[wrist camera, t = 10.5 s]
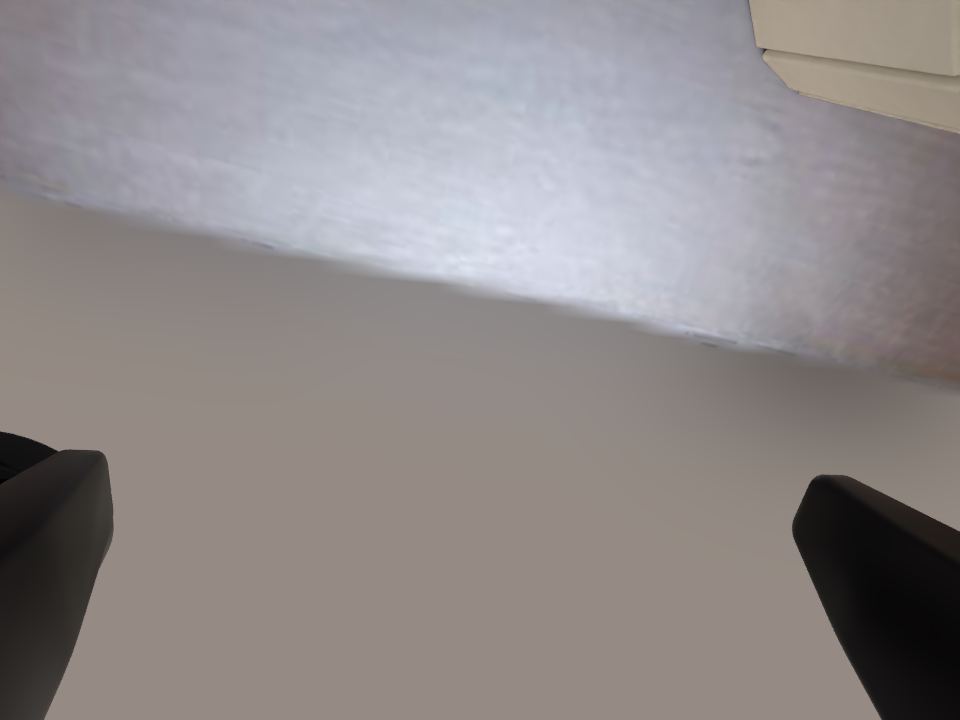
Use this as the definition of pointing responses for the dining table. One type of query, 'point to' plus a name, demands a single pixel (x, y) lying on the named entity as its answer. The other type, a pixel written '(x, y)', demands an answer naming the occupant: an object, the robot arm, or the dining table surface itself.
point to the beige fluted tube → (868, 54)
